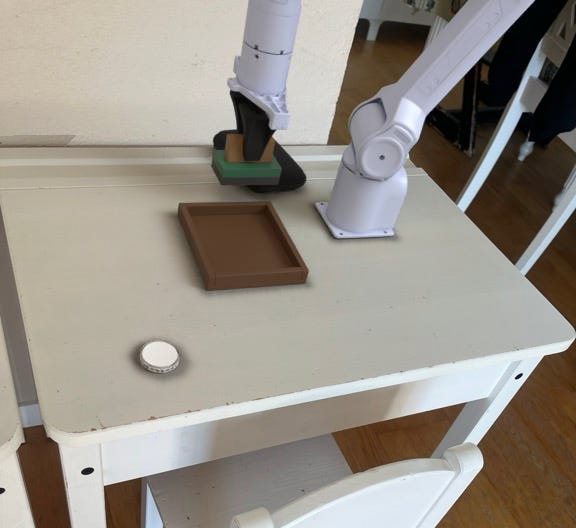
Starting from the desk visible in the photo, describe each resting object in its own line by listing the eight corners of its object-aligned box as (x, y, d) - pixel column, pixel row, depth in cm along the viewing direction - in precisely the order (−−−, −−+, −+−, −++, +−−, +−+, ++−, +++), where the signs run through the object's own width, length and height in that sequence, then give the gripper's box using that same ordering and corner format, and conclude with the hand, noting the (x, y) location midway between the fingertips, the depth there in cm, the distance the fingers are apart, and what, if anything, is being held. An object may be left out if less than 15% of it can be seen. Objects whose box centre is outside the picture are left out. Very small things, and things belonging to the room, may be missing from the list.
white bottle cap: (152, 338, 65) (153, 334, 65) (186, 354, 65) (187, 350, 64) (131, 361, 62) (131, 357, 62) (166, 378, 62) (166, 374, 61)
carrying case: (200, 145, 93) (245, 201, 86) (202, 126, 91) (249, 182, 84) (261, 140, 98) (309, 192, 91) (265, 122, 96) (314, 174, 89)
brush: (211, 166, 82) (216, 127, 78) (267, 166, 85) (274, 128, 81) (220, 185, 79) (226, 146, 75) (278, 184, 82) (286, 147, 78)
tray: (267, 214, 85) (270, 200, 84) (305, 283, 77) (309, 270, 75) (177, 216, 80) (178, 202, 79) (207, 291, 72) (209, 276, 70)
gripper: (216, 14, 73) (203, 125, 82) (255, 71, 64) (236, 187, 74) (271, 19, 75) (253, 126, 85) (316, 75, 67) (290, 186, 77)
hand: (248, 154), depth 80 cm, fingers closed on brush
